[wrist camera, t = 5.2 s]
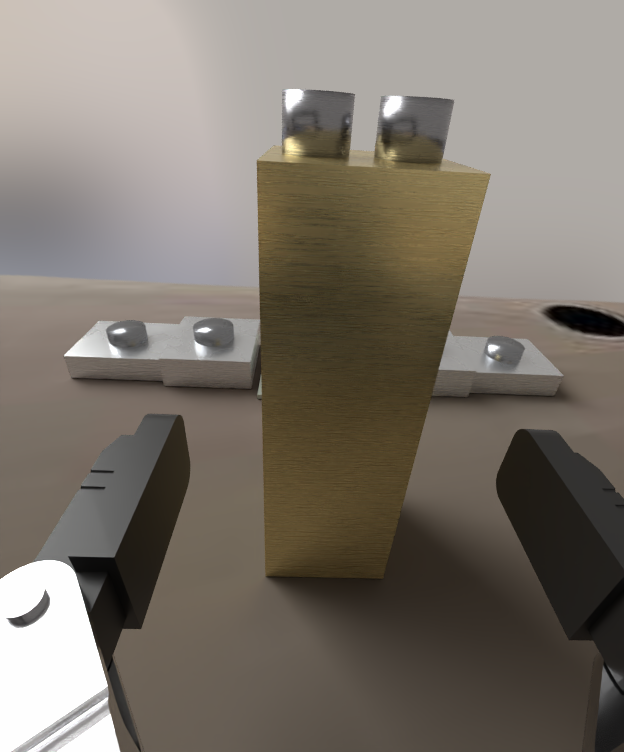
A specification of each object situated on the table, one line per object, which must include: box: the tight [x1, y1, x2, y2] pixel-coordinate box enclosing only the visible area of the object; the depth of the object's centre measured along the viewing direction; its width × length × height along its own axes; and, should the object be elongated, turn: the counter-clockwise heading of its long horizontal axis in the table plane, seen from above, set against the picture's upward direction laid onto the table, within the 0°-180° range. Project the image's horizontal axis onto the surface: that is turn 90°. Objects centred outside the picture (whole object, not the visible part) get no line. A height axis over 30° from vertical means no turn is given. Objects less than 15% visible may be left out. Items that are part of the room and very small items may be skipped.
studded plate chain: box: [64, 317, 563, 399], centre depth 27 cm, size 32×8×3 cm, turn 90°
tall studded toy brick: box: [257, 89, 491, 579], centre depth 13 cm, size 4×4×15 cm
